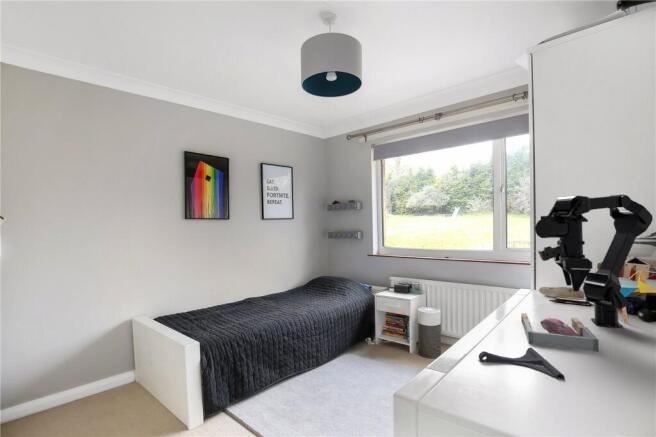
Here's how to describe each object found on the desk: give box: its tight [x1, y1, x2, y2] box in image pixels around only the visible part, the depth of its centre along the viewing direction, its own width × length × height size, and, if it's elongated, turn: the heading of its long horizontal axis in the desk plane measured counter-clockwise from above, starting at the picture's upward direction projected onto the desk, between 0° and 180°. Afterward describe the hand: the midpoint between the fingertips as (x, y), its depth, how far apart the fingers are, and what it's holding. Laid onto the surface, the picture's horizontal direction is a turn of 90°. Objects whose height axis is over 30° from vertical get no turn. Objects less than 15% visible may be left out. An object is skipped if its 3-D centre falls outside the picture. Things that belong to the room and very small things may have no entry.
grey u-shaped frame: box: [524, 321, 599, 353], centre depth 90 cm, size 10×15×3 cm
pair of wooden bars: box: [520, 312, 586, 337], centre depth 99 cm, size 10×15×2 cm, turn 64°
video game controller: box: [540, 316, 581, 337], centre depth 90 cm, size 10×5×7 cm, turn 5°
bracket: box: [478, 347, 566, 380], centre depth 77 cm, size 14×15×3 cm
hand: (572, 288), depth 100 cm, fingers open, 9 cm apart
